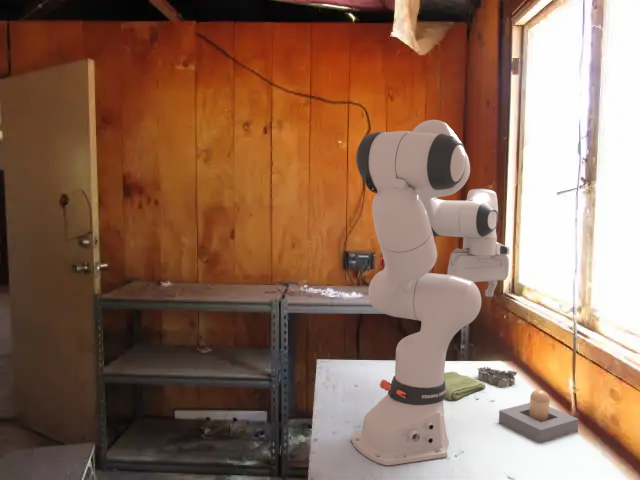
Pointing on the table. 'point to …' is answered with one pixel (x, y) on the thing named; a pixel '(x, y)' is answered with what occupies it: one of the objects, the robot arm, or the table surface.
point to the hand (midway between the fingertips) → (477, 297)
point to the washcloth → (460, 385)
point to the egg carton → (497, 376)
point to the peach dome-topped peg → (539, 405)
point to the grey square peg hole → (538, 423)
